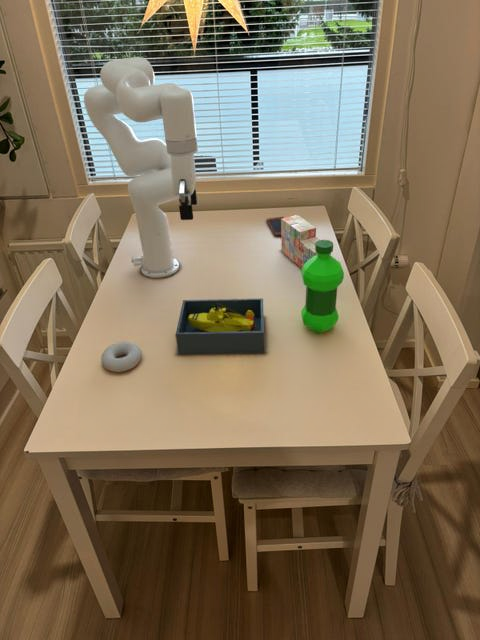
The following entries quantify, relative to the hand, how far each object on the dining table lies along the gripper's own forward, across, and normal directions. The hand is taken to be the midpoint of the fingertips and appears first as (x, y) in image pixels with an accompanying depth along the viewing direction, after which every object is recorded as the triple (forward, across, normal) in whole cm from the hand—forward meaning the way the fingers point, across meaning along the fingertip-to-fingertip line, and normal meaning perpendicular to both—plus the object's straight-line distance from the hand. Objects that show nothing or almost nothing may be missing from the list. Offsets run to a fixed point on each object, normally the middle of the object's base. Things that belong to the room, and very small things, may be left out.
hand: (189, 211), depth 125 cm
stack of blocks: (+28, -22, +33) cm, 49 cm away
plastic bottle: (+28, +14, +34) cm, 47 cm away
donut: (+28, +27, -17) cm, 43 cm away
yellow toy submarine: (+28, +17, +8) cm, 34 cm away
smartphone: (+28, -49, +26) cm, 62 cm away
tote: (+28, +17, +8) cm, 34 cm away
